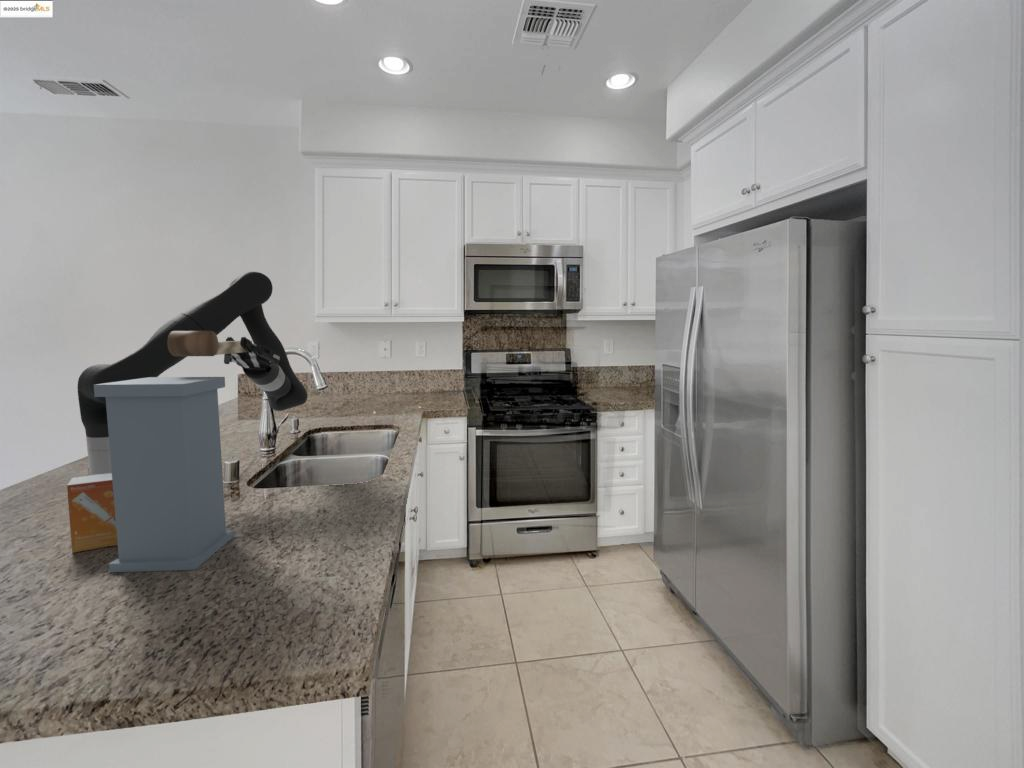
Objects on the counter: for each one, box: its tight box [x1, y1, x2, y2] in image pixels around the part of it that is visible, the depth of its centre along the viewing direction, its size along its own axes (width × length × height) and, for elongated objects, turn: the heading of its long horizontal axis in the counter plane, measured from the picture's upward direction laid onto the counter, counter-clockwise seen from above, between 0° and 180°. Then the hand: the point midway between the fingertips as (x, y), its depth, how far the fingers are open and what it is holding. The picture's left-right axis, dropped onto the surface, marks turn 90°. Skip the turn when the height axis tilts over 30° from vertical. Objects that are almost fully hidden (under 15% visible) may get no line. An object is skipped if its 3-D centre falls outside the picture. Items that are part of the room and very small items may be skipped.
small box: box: [66, 473, 118, 554], centre depth 98 cm, size 8×6×13 cm
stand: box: [94, 376, 235, 573], centre depth 92 cm, size 14×14×32 cm
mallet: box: [167, 331, 253, 357], centre depth 110 cm, size 25×7×5 cm, turn 3°
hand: (235, 340), depth 117 cm, fingers closed on mallet, 2 cm apart
